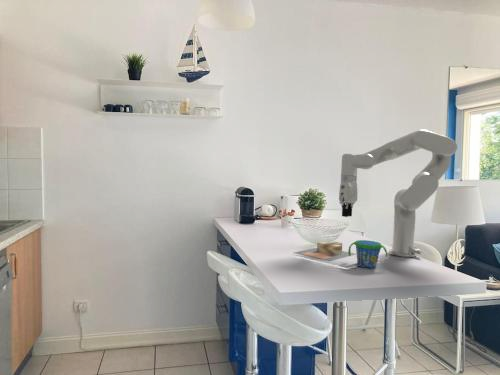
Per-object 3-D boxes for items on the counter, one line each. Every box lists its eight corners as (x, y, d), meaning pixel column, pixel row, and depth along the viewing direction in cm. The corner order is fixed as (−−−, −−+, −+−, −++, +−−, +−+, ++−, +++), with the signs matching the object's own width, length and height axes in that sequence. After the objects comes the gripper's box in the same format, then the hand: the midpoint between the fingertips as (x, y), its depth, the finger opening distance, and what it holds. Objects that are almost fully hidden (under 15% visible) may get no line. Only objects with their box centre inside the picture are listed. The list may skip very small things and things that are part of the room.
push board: (357, 255, 188) (357, 254, 188) (329, 263, 172) (329, 261, 172) (321, 248, 203) (321, 246, 203) (292, 254, 186) (292, 252, 186)
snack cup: (388, 266, 170) (389, 242, 169) (383, 272, 161) (384, 247, 160) (351, 261, 178) (353, 238, 177) (344, 266, 168) (346, 241, 168)
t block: (348, 252, 191) (348, 244, 191) (336, 255, 184) (337, 246, 184) (328, 248, 199) (329, 240, 199) (316, 250, 192) (317, 242, 192)
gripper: (346, 179, 189) (344, 218, 190) (364, 179, 200) (362, 216, 201) (332, 178, 194) (331, 216, 195) (350, 178, 206) (348, 214, 207)
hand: (346, 216), depth 198 cm, fingers open, 2 cm apart
